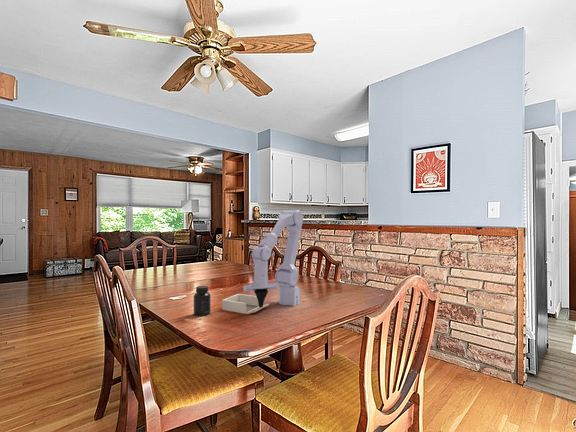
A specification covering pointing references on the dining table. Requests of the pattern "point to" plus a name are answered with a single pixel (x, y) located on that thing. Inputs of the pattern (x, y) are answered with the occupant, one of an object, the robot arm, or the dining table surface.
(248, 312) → the flap
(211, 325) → the dining table surface
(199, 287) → the supplement bottle
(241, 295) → the carton
